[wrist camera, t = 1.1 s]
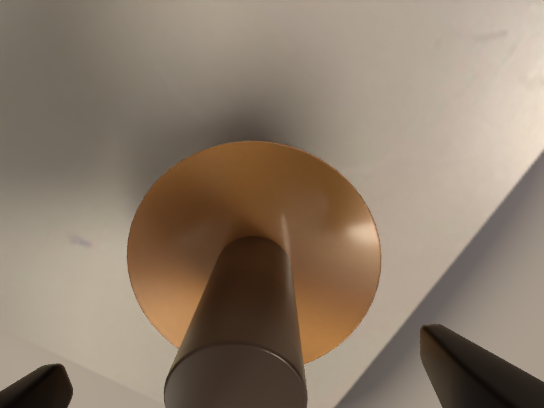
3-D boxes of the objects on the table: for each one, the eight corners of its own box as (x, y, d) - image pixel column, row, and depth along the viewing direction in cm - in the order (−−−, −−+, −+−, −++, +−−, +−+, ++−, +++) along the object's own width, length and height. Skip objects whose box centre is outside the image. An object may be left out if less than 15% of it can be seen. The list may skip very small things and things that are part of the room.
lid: (375, 341, 13) (470, 541, 7) (169, 362, 14) (77, 569, 7) (366, 122, 11) (503, 119, 4) (112, 157, 11) (-108, 201, 5)
